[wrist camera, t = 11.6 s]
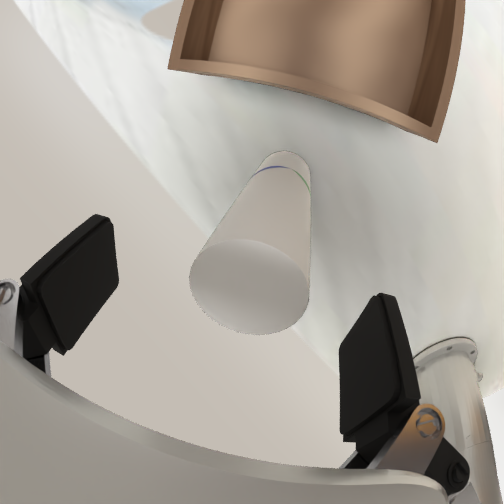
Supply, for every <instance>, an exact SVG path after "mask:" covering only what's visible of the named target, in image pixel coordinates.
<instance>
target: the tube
mask: <svg viewBox="0 0 504 504" xmlns="http://www.w3.org/2000/svg"><path fill="white" fill-rule="evenodd" d="M310 252H311V185H310V170H309V167H308V165H307V163H306V162H305V161H304V160H303V159H302V158H301V157H300V156H298V155H297V154H295V153H292V152H288V151H279V152H275V153H273V154H271V155H269V156H268V157H267V158H266V159H265V160H264V161H263V162H262V164H261V165H260V166H259V168H258V169H257V171H256V172H255V173H254V175H253V176H252V178H251V179H250V180H249V182H248V183H247V184H246V186H245V187H244V189H243V190H242V192H241V193H240V194H239V196H238V197H237V199H236V200H235V201H234V203H233V204H232V206H231V207H230V209H229V210H228V212H227V213H226V214H225V216H224V217H223V219H222V220H221V222H220V223H219V225H218V226H217V228H216V229H215V230H214V232H213V233H212V235H211V236H210V238H209V239H208V241H207V243H206V244H205V245H204V247H203V248H202V250H201V251H200V253H199V254H198V256H197V258H196V259H195V261H194V263H193V265H192V267H191V271H190V276H189V279H190V288H191V292H192V295H193V297H194V299H195V301H196V302H197V304H198V305H199V307H200V308H201V309H202V310H203V311H204V313H206V314H207V315H208V316H209V317H210V318H211V319H212V320H214V321H215V322H217V323H219V324H220V325H222V326H224V327H226V328H228V329H231V330H234V331H237V332H240V333H245V334H253V335H265V334H272V333H276V332H280V331H282V330H284V329H287V328H289V327H290V326H292V325H293V324H295V323H296V322H297V321H298V320H299V319H300V318H301V317H302V315H303V314H304V312H305V310H306V308H307V305H308V302H309V284H310Z"/></svg>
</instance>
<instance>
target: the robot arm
mask: <svg viewBox="0 0 504 504" xmlns="http://www.w3.org/2000/svg"><path fill="white" fill-rule="evenodd" d="M20 280H21V282H22V285H21V286H20V287H19V285H18V283H17V282H16V281H15V280H12V279H4V280H1V281H0V504H503V501H502V497H501V492H500V487H499V481H498V476H497V470H496V463H495V457H494V451H493V444H492V440H491V434H490V430H489V425H488V420H487V415H486V411H485V407H484V403H483V399H482V396H481V392H480V389H479V385H478V382H477V381H481V380H482V378H483V374H482V373H476V371H475V368H474V365H473V364H474V363H475V360H476V358H477V354H478V353H477V348H476V345H475V343H474V342H473V341H472V340H470V339H466V338H454V339H449V340H446V341H443V342H440V343H438V344H436V345H434V346H432V347H430V348H428V349H426V350H425V351H423V352H422V353H420V354H419V355H418V356H416V357H415V358H414V359H413V357H412V353H411V349H410V345H409V341H408V337H407V334H406V330H405V326H404V323H403V320H402V316H401V313H400V310H399V306H398V303H397V300H396V298H395V297H394V296H391V295H387V294H384V293H379V294H377V296H373V297H372V298H371V299H370V301H369V302H368V304H367V306H366V307H365V309H364V310H363V312H362V313H361V315H360V317H359V318H358V320H357V321H356V323H355V324H354V326H353V327H352V329H351V330H350V331H349V333H348V334H347V336H346V337H345V339H344V340H343V342H342V343H341V345H340V348H339V372H340V433H341V434H343V442H356V450H355V451H354V452H353V454H352V455H351V456H350V457H349V458H348V459H347V460H346V461H345V462H344V463H343V464H342V465H341V467H340V468H339V469H335V468H319V467H307V466H297V465H296V466H295V465H288V464H280V463H273V462H267V461H261V460H255V459H250V458H245V457H241V456H236V455H232V454H227V453H223V452H219V451H215V450H211V449H208V448H204V447H200V446H197V445H194V444H191V443H187V442H185V441H182V440H178V439H175V438H173V437H170V436H167V435H164V434H161V433H159V432H156V431H154V430H151V429H149V428H146V427H144V426H141V425H139V424H137V423H134V422H132V421H130V420H128V419H125V418H123V417H121V416H119V415H117V414H115V413H113V412H111V411H109V410H106V409H104V408H103V407H101V406H99V405H97V404H95V403H93V402H91V401H89V400H88V399H86V398H84V397H82V396H80V395H79V394H77V393H75V392H74V391H72V390H70V389H69V388H67V387H65V386H64V385H62V384H61V383H59V382H57V381H56V380H54V379H53V378H51V370H50V359H49V351H50V349H51V348H53V349H54V350H55V351H57V352H58V353H60V354H62V355H64V354H65V353H66V351H67V350H70V349H72V348H73V346H74V345H75V343H76V342H77V341H78V339H79V338H80V336H81V335H82V333H83V332H84V331H85V329H86V328H87V326H88V325H89V324H90V322H91V321H92V320H93V318H94V317H95V316H96V314H97V313H98V312H99V310H100V309H101V307H102V306H103V305H104V304H105V302H106V301H107V300H108V298H109V297H110V295H112V293H113V292H114V290H115V289H116V288H117V286H118V283H119V276H118V268H117V259H116V250H115V240H114V228H113V224H112V223H111V221H110V219H109V218H108V217H105V216H101V215H98V214H95V215H93V216H91V217H90V218H89V219H88V220H86V221H85V222H84V223H82V224H81V225H80V226H79V227H78V228H76V229H75V230H74V231H72V232H71V233H70V234H69V235H67V236H66V237H65V238H64V239H63V240H61V241H60V242H59V243H58V244H57V245H56V246H54V247H53V248H52V249H51V250H50V251H49V252H48V253H46V254H45V255H44V256H43V257H42V258H41V259H40V260H39V261H38V262H36V263H35V264H34V265H33V266H32V267H31V268H30V269H29V270H28V271H27V272H26V273H25V274H24V275H23V276H22V277H21V278H20Z"/></svg>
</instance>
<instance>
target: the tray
mask: <svg viewBox="0 0 504 504" xmlns="http://www.w3.org/2000/svg"><path fill="white" fill-rule="evenodd" d="M464 14H465V0H184V3H183V6H182V10H181V13H180V16H179V21H178V24H177V28H176V32H175V36H174V41H173V45H172V49H171V54H170V59H169V64H168V69H169V70H176V71H183V72H189V73H195V74H200V75H208V76H217V77H224V78H231V79H237V80H244V81H249V82H255V83H260V84H265V85H270V86H274V87H279V88H283V89H287V90H291V91H295V92H299V93H303V94H306V95H310V96H314V97H317V98H320V99H324V100H327V101H330V102H333V103H336V104H339V105H342V106H345V107H348V108H351V109H354V110H357V111H359V112H362V113H365V114H367V115H370V116H372V117H375V118H377V119H380V120H382V121H385V122H387V123H389V124H392V125H394V126H396V127H398V128H401V129H403V130H405V131H407V132H410V133H413V134H416V135H418V136H421V137H423V138H426V139H428V140H431V141H433V142H436V143H437V142H438V139H439V136H440V133H441V130H442V126H443V123H444V120H445V116H446V113H447V109H448V105H449V102H450V98H451V94H452V89H453V85H454V81H455V76H456V71H457V66H458V61H459V55H460V49H461V42H462V34H463V25H464Z"/></svg>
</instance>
